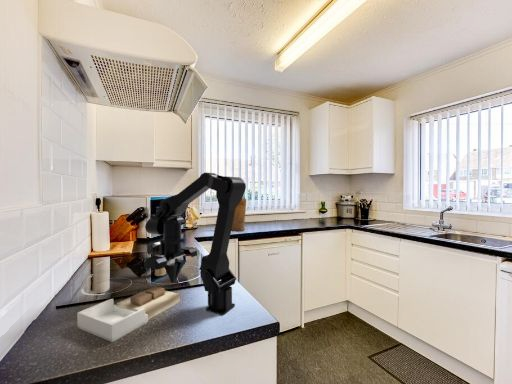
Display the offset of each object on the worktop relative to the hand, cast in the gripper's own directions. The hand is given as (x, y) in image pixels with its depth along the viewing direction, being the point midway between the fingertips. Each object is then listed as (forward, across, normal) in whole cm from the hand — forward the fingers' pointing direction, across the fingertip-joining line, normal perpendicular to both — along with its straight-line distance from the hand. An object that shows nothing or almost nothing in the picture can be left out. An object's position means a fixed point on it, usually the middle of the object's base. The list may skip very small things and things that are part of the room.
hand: (172, 282), depth 85 cm
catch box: (+4, +21, 0) cm, 21 cm away
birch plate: (+4, +10, 0) cm, 10 cm away
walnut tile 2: (+2, +8, 0) cm, 8 cm away
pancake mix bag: (+4, -121, -49) cm, 131 cm away
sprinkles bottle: (+4, -13, -20) cm, 24 cm away
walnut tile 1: (+2, +12, 0) cm, 13 cm away
